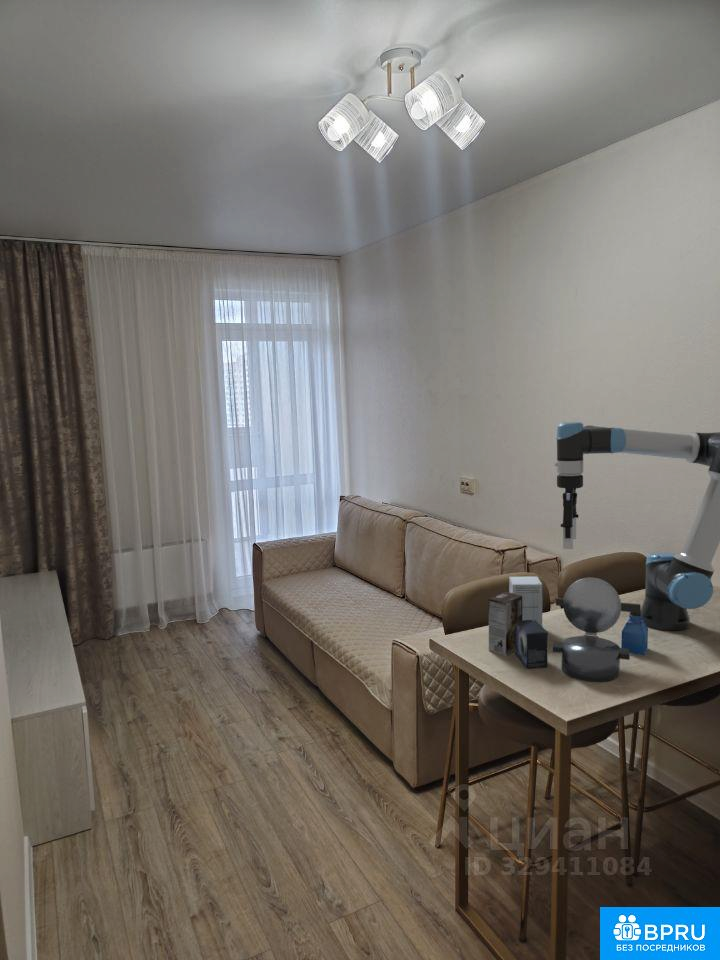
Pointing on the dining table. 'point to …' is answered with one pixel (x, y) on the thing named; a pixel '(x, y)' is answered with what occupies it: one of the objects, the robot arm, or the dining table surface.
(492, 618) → the coffee box
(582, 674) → the pot
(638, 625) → the perfume bottle
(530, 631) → the small box
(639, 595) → the dining table surface
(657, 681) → the dining table surface
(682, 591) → the robot arm
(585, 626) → the lid
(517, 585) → the supplement box
